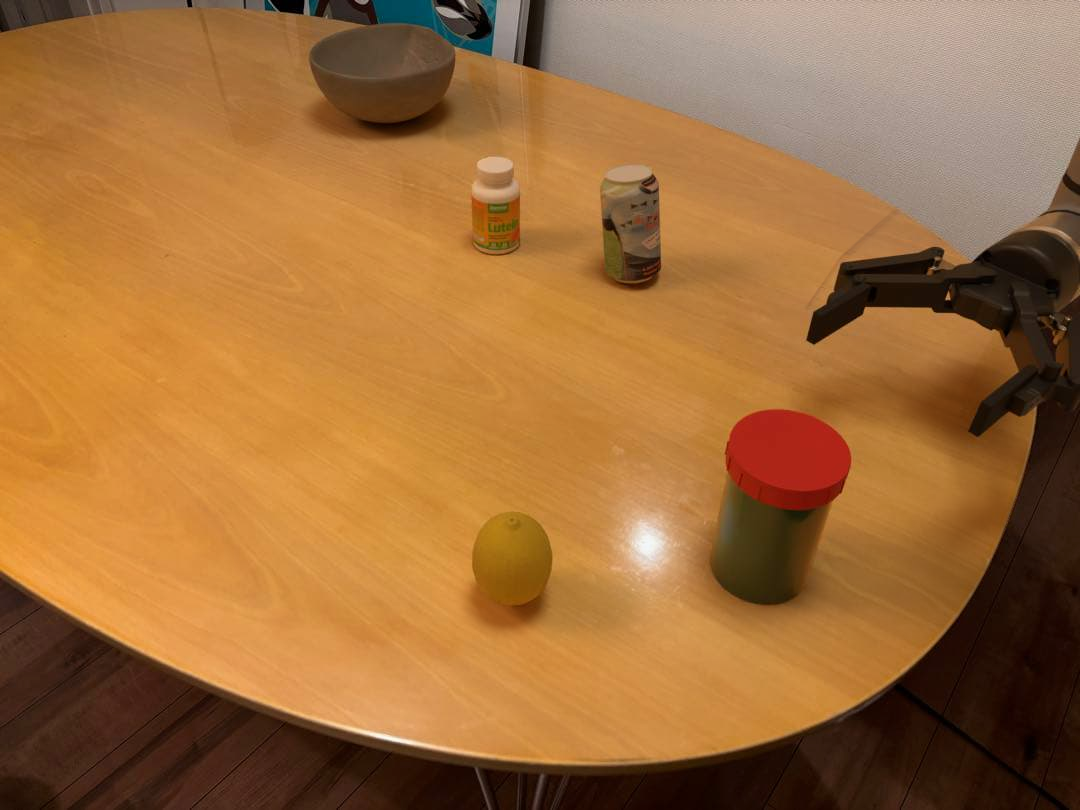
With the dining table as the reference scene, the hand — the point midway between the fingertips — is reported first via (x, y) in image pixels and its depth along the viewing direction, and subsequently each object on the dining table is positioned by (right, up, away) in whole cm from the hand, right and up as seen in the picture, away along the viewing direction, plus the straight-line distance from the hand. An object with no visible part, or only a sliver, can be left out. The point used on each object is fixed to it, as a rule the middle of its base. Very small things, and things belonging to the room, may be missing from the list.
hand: (891, 371), depth 64 cm
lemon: (-27, -16, 0) cm, 32 cm away
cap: (-9, -6, -5) cm, 12 cm away
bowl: (-47, +40, +66) cm, 90 cm away
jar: (-9, -14, +2) cm, 17 cm away
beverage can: (-16, +12, +33) cm, 39 cm away
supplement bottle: (-30, +16, +38) cm, 51 cm away
